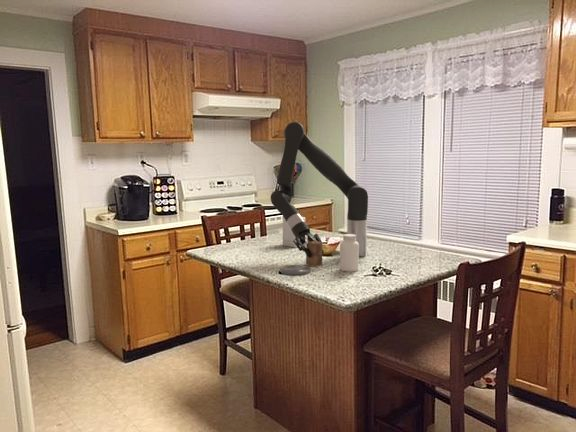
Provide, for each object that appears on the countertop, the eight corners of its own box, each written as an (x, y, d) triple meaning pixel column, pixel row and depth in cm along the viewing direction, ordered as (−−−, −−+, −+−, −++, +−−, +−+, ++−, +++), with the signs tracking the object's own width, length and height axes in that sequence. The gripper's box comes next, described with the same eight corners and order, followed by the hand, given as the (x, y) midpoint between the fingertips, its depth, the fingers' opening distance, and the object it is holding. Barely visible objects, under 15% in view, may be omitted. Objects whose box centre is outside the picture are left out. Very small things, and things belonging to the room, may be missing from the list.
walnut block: (314, 262, 216) (314, 240, 215) (322, 264, 213) (322, 242, 211) (306, 264, 213) (306, 242, 211) (314, 266, 209) (314, 244, 208)
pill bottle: (353, 273, 198) (354, 237, 196) (336, 270, 202) (336, 235, 200) (361, 268, 205) (362, 234, 203) (344, 266, 209) (344, 232, 207)
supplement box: (295, 247, 248) (295, 219, 246) (282, 245, 253) (282, 217, 251) (306, 244, 255) (306, 217, 253) (292, 242, 260) (292, 215, 258)
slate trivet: (312, 268, 206) (312, 265, 206) (307, 276, 194) (307, 273, 194) (283, 266, 209) (283, 264, 209) (276, 274, 197) (276, 272, 196)
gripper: (290, 222, 211) (309, 253, 204) (313, 219, 220) (332, 248, 213) (282, 233, 215) (300, 263, 208) (305, 229, 225) (323, 257, 218)
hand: (316, 255), depth 211 cm, fingers open, 6 cm apart
